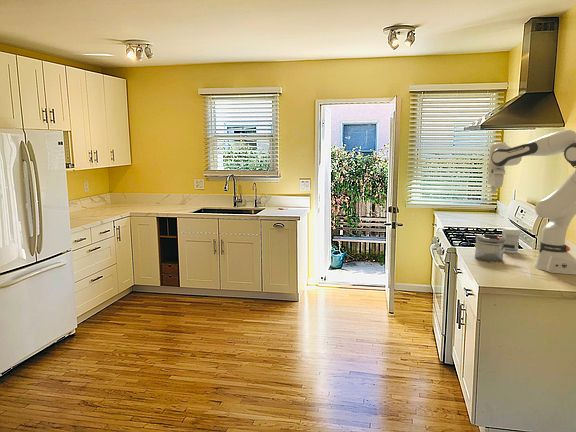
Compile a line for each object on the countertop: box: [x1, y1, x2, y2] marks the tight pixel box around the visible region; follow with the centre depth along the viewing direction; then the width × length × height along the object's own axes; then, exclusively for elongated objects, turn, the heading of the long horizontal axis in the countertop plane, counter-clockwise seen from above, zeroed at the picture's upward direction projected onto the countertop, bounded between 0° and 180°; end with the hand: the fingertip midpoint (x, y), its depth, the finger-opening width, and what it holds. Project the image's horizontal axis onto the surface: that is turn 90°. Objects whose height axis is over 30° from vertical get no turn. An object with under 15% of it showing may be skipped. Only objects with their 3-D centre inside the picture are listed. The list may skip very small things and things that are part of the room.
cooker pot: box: [474, 238, 515, 263], centre depth 269 cm, size 21×16×11 cm
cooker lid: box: [475, 233, 506, 243], centre depth 269 cm, size 16×16×3 cm
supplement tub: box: [501, 226, 520, 254], centre depth 288 cm, size 10×10×15 cm
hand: (493, 193), depth 277 cm, fingers closed
